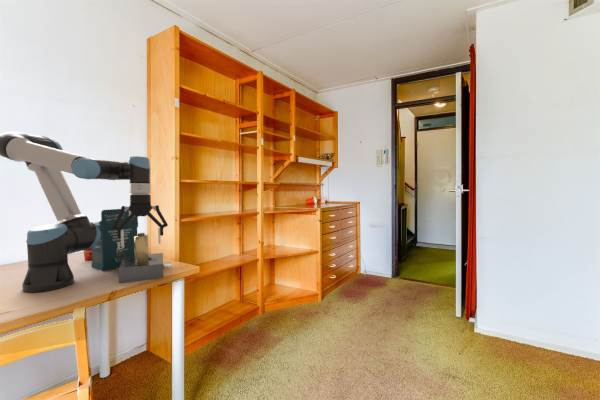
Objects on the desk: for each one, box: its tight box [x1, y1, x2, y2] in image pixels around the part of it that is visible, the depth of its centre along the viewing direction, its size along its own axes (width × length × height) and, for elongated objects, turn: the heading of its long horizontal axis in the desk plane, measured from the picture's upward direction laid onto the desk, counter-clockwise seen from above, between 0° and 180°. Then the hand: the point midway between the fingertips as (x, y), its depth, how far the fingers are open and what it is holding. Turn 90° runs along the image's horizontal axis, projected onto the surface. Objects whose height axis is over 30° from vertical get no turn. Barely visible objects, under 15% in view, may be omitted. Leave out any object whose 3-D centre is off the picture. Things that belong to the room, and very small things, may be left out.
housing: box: [118, 252, 164, 284], centre depth 129 cm, size 16×22×6 cm
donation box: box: [91, 208, 139, 272], centre depth 142 cm, size 16×16×28 cm
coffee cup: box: [83, 248, 92, 262], centre depth 153 cm, size 8×8×15 cm
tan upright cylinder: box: [134, 232, 150, 266], centre depth 122 cm, size 5×5×13 cm
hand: (141, 244), depth 122 cm, fingers open, 13 cm apart
